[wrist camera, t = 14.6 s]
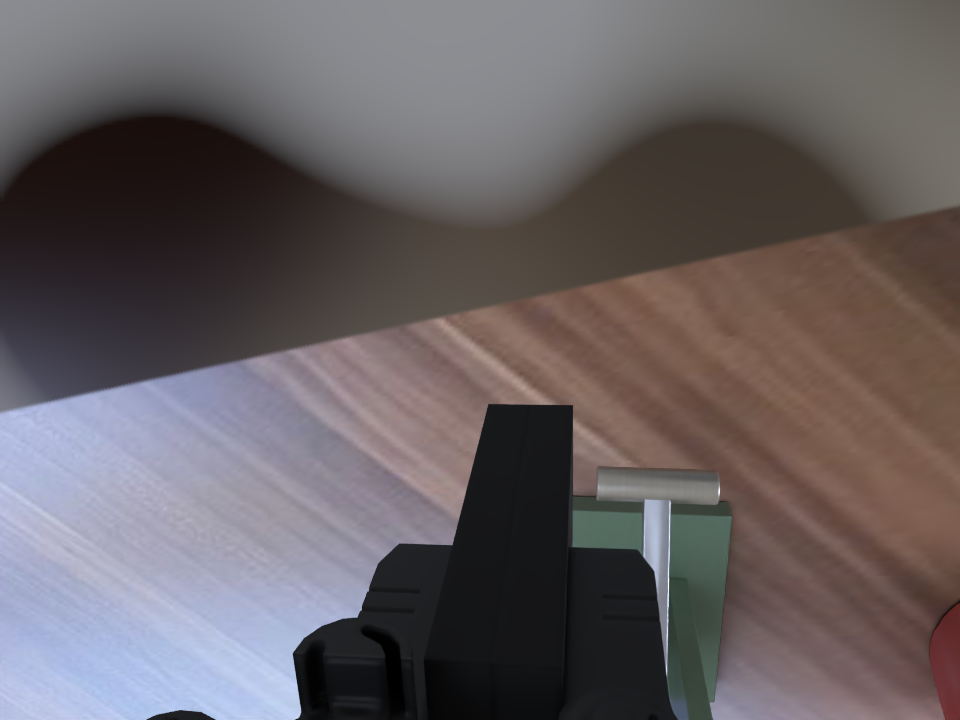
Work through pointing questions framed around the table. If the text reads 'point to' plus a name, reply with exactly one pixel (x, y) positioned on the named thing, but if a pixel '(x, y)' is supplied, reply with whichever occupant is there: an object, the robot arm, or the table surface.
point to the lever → (658, 512)
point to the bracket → (676, 586)
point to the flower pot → (947, 662)
